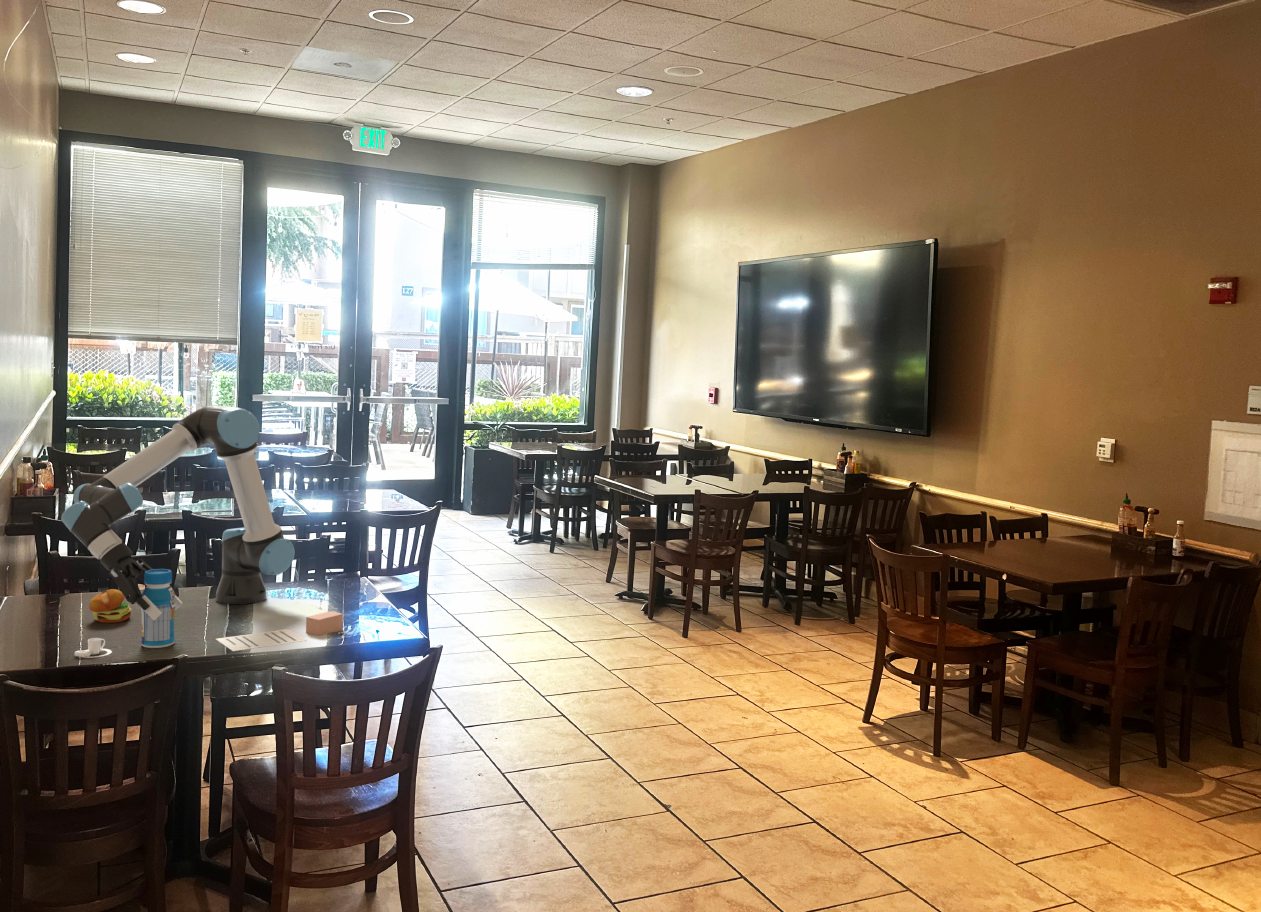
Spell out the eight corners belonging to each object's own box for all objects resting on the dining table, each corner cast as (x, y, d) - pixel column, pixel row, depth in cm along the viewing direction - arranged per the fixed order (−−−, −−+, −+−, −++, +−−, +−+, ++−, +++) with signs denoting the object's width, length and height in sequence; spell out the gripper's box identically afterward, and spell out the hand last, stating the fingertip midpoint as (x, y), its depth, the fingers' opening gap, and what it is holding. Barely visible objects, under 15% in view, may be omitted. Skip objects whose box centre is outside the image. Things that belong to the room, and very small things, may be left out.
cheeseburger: (141, 617, 298) (135, 586, 295) (110, 634, 289) (103, 602, 286) (117, 612, 302) (110, 581, 299) (86, 628, 293) (78, 597, 290)
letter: (215, 639, 279) (215, 638, 279) (286, 630, 292) (286, 628, 292) (233, 652, 268) (233, 651, 268) (306, 641, 281) (306, 640, 281)
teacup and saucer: (75, 661, 256) (75, 645, 256) (71, 653, 263) (71, 638, 262) (114, 656, 261) (114, 641, 261) (109, 649, 268) (109, 633, 268)
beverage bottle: (152, 650, 266) (153, 575, 265) (133, 645, 271) (133, 571, 269) (181, 644, 274) (182, 571, 272) (162, 638, 278) (163, 566, 276)
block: (306, 616, 289) (330, 611, 297) (306, 634, 289) (330, 627, 297) (318, 619, 286) (342, 613, 294) (318, 637, 287) (342, 630, 294)
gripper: (124, 552, 282) (179, 610, 283) (76, 569, 259) (136, 632, 260) (143, 534, 282) (198, 592, 283) (96, 549, 259) (156, 612, 259)
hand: (168, 611), depth 271 cm, fingers open, 11 cm apart
